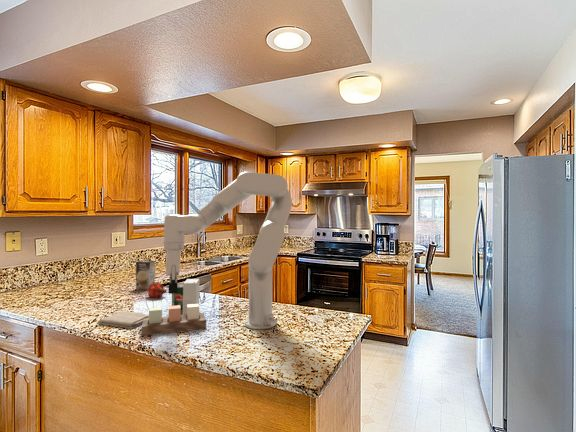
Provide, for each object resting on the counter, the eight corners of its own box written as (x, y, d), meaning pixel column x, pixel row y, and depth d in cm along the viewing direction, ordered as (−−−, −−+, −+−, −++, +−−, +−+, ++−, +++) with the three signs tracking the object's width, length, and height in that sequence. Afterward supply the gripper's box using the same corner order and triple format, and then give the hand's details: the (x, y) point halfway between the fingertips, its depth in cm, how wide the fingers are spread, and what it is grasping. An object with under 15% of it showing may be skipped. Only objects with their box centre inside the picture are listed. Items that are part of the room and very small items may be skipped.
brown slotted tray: (203, 320, 138) (203, 312, 138) (205, 328, 128) (206, 320, 128) (143, 326, 130) (143, 318, 130) (141, 335, 121) (141, 326, 121)
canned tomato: (181, 305, 160) (181, 282, 160) (192, 307, 156) (192, 284, 156) (167, 309, 154) (167, 285, 153) (179, 311, 150) (179, 287, 149)
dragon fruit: (152, 297, 182) (161, 304, 173) (140, 290, 176) (149, 297, 168) (162, 283, 184) (171, 290, 176) (150, 276, 179) (159, 283, 171)
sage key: (161, 319, 130) (161, 306, 130) (161, 322, 126) (161, 309, 125) (149, 320, 128) (149, 307, 128) (149, 324, 124) (149, 311, 124)
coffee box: (135, 288, 195) (135, 261, 195) (141, 286, 201) (141, 260, 201) (149, 289, 193) (149, 262, 193) (155, 287, 200) (155, 260, 200)
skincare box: (186, 311, 151) (186, 278, 151) (199, 310, 151) (199, 278, 151) (182, 316, 142) (182, 282, 142) (196, 316, 143) (196, 282, 143)
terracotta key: (180, 317, 132) (180, 305, 132) (180, 320, 128) (180, 308, 128) (168, 318, 131) (168, 306, 130) (168, 322, 126) (168, 309, 126)
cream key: (198, 315, 134) (198, 303, 134) (199, 318, 130) (199, 306, 130) (186, 316, 133) (186, 304, 133) (187, 320, 129) (187, 307, 129)
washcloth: (133, 330, 128) (133, 322, 128) (96, 325, 133) (96, 318, 133) (154, 320, 139) (153, 313, 139) (119, 316, 144) (119, 309, 144)
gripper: (164, 244, 135) (163, 289, 135) (163, 248, 121) (162, 298, 121) (183, 244, 137) (182, 288, 137) (184, 248, 123) (183, 297, 123)
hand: (172, 292), depth 129 cm, fingers closed
